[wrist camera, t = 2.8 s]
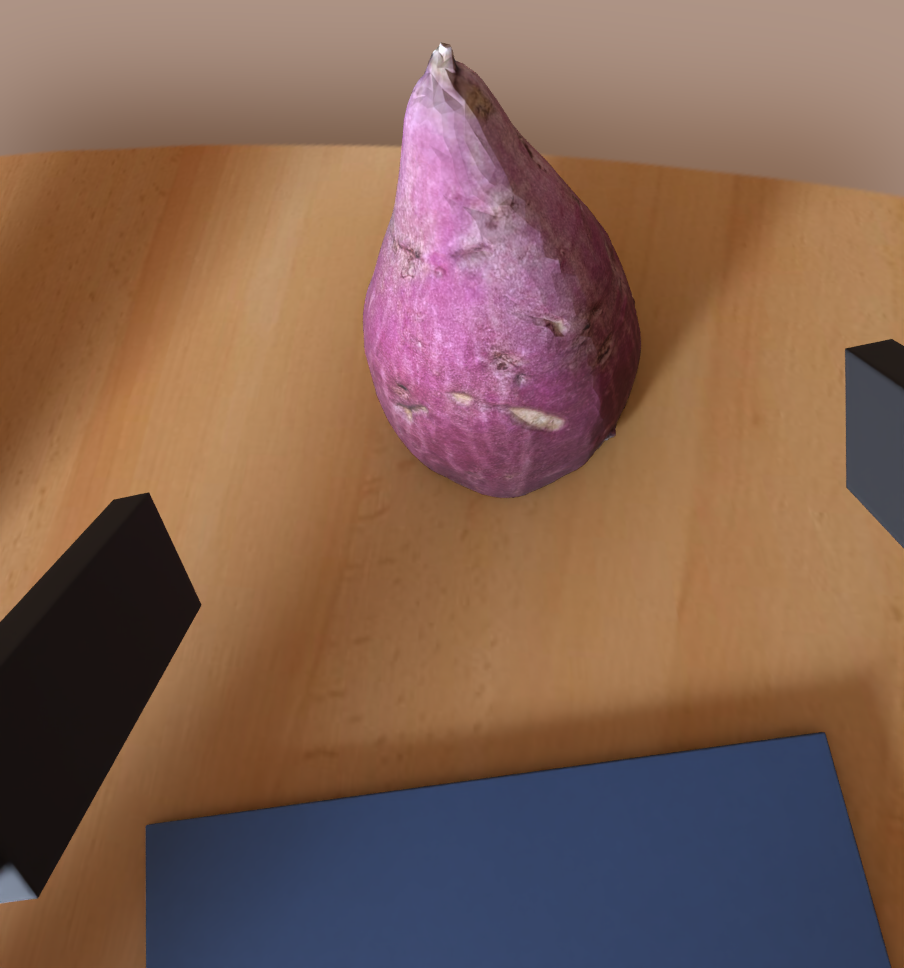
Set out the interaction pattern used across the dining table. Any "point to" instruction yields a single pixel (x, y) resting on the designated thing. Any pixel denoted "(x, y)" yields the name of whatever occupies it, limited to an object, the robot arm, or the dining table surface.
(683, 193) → the dining table surface
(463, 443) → the vegetable
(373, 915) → the blue rectangular board
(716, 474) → the dining table surface
